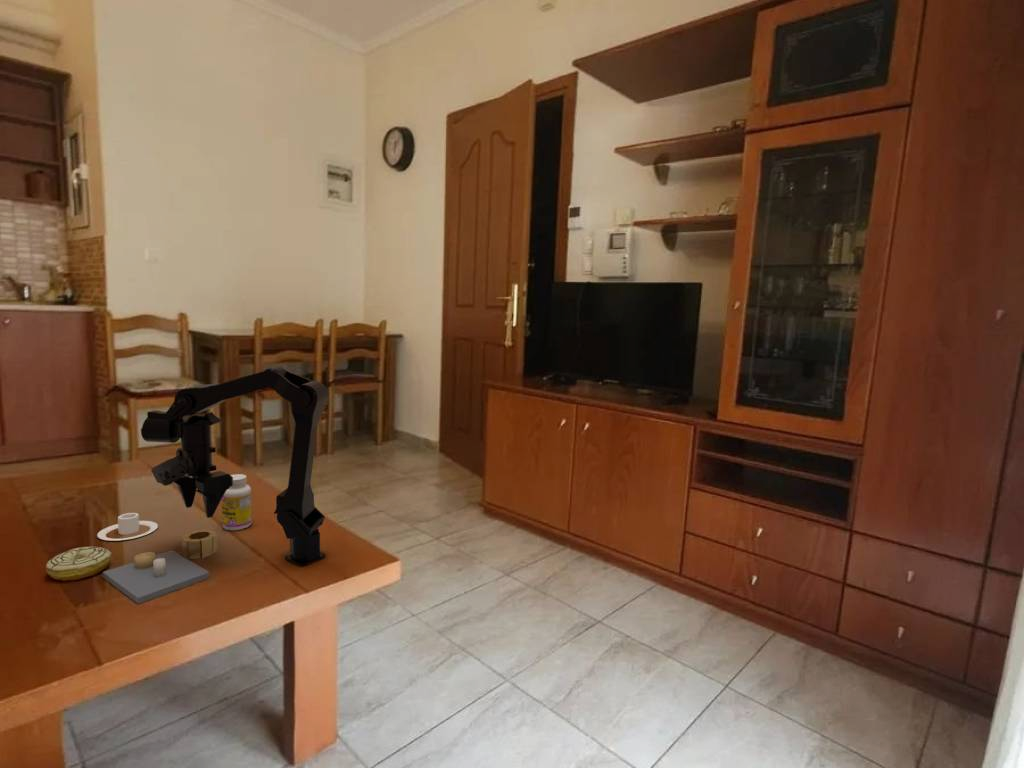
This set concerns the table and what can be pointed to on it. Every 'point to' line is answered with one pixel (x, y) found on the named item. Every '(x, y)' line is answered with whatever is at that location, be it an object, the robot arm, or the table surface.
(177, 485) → the robot arm
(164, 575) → the carrier board
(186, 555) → the octagonal wooden tube
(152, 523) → the candle holder
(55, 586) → the table surface
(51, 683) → the table surface
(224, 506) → the supplement bottle
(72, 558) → the decorated donut
